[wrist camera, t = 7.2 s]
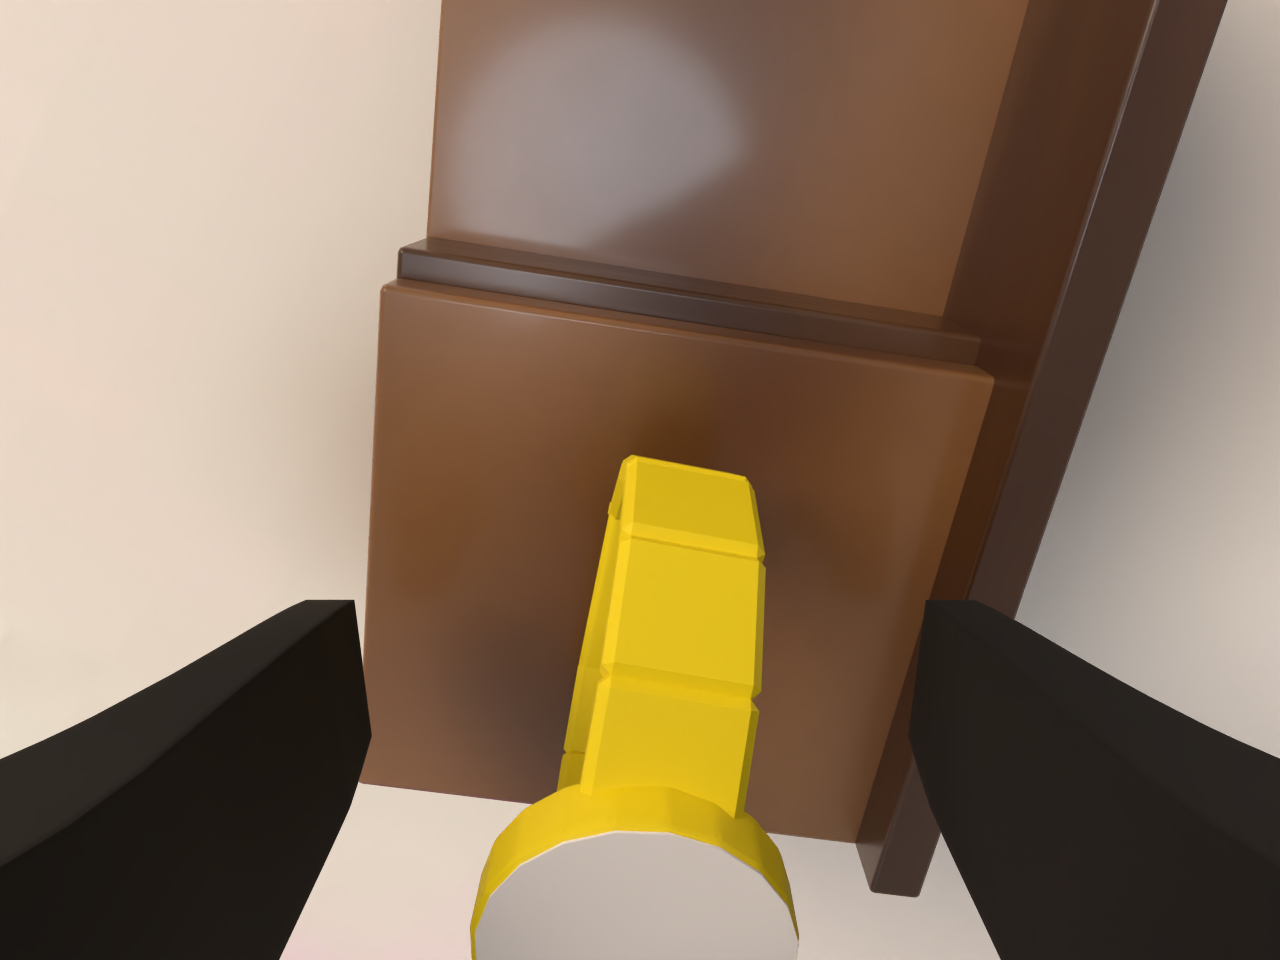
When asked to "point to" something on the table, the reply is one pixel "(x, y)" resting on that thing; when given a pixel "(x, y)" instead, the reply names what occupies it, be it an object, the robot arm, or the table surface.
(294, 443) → the table surface
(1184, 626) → the table surface
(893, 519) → the step shelf
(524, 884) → the watch
